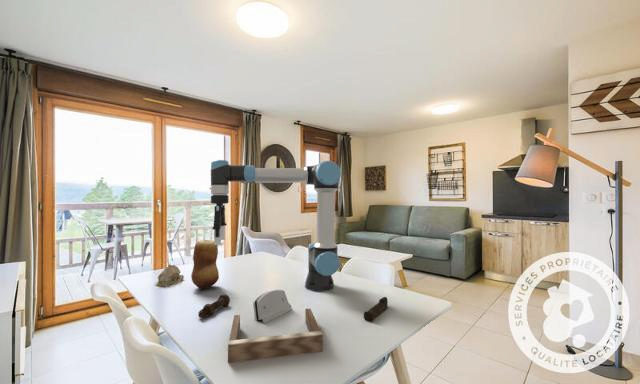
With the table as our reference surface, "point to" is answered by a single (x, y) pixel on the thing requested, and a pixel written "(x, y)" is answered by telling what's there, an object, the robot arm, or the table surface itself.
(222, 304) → the bolt
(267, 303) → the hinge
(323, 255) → the robot arm
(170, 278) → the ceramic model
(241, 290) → the table surface
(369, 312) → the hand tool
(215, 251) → the butternut squash
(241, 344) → the frame
